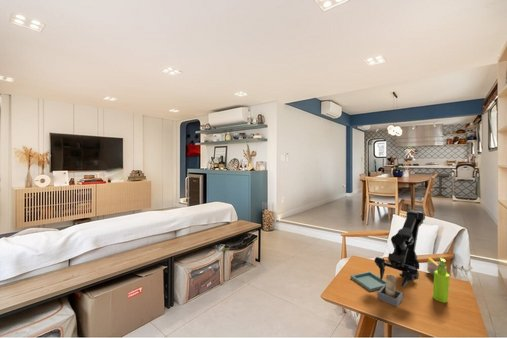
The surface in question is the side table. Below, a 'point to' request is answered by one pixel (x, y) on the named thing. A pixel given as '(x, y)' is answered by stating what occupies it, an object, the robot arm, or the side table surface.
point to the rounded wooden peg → (390, 285)
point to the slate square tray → (389, 299)
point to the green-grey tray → (369, 280)
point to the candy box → (432, 266)
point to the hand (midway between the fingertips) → (391, 283)
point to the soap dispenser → (441, 282)
